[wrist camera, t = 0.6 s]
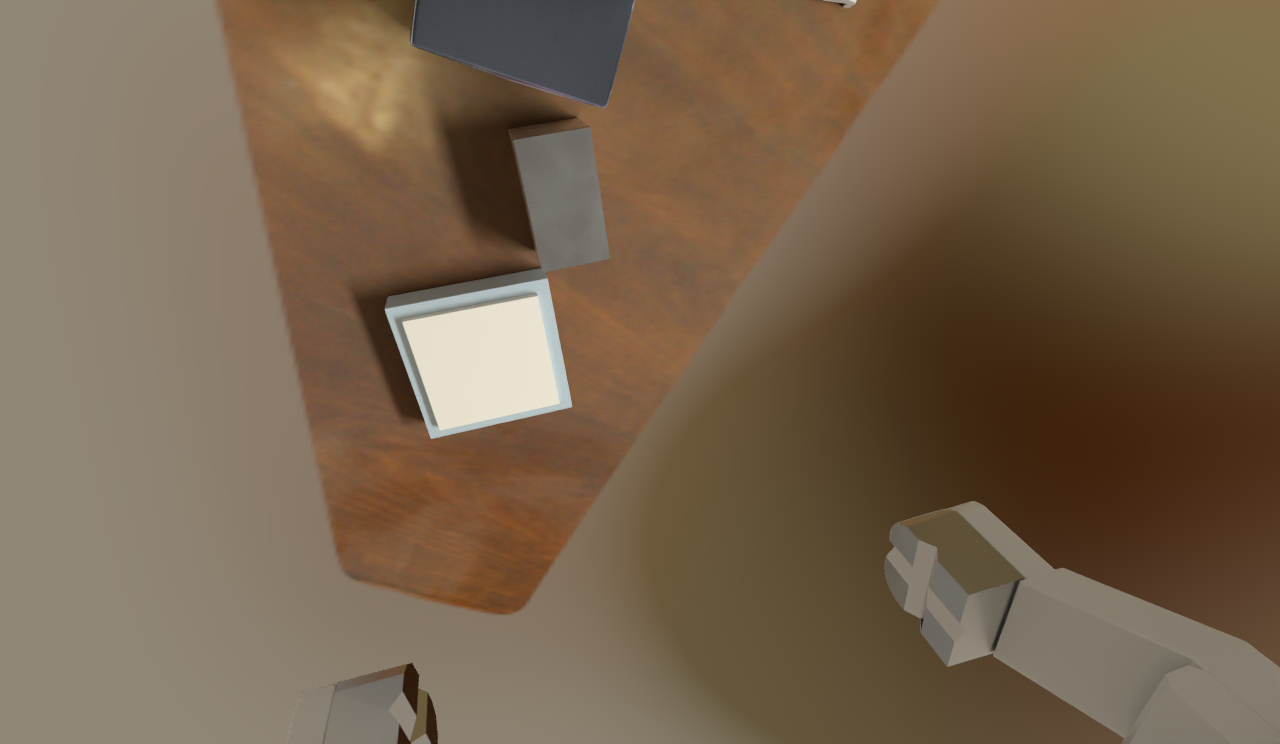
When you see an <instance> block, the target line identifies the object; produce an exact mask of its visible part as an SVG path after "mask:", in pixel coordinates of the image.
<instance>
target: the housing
mask: <svg viewBox="0 0 1280 744" xmlns="http://www.w3.org/2000/svg"><path fill="white" fill-rule="evenodd" d="M508 130H509V135H510V139H511V144H512V148H513V153H514V157H515V162H516V166H517V171H518V175H519V180H520V185H521V189H522V194H523V198H524V203H525V207H526V212H527V216H528V221H529V225H530V230H531V234H532V239H533V244H534V248H535V252H536V255H537V258H538V261H539V264H540V268H541V271H542V272H547V271H552V270H557V269H562V268H567V267H571V266H576V265H581V264H586V263H591V262H596V261H601V260H605V259H610V255H609V248H608V242H607V235H606V228H605V222H604V215H603V209H602V202H601V195H600V189H599V182H598V175H597V169H596V162H595V155H594V149H593V142H592V136H591V129H590V126H588V125H587V124H586V123H584V122H583V121H582V120H581V119H579V118H572V119H566V120H560V121H554V122H548V123H542V124H536V125H530V126H524V127H518V128H512V129H508Z"/></svg>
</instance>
